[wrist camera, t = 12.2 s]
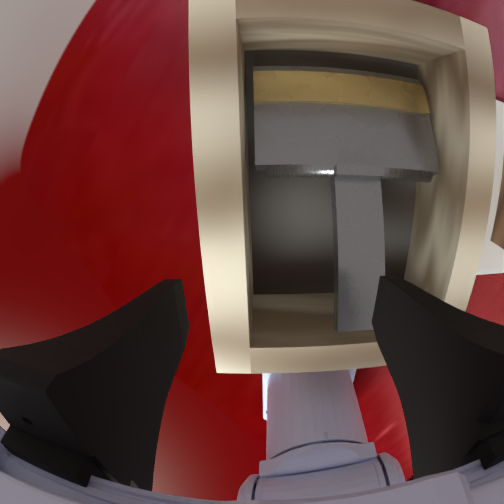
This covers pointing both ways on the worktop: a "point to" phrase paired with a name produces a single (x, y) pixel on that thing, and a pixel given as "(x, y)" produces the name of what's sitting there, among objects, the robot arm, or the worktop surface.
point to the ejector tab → (345, 159)
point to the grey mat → (494, 204)
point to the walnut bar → (499, 217)
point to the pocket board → (319, 189)
